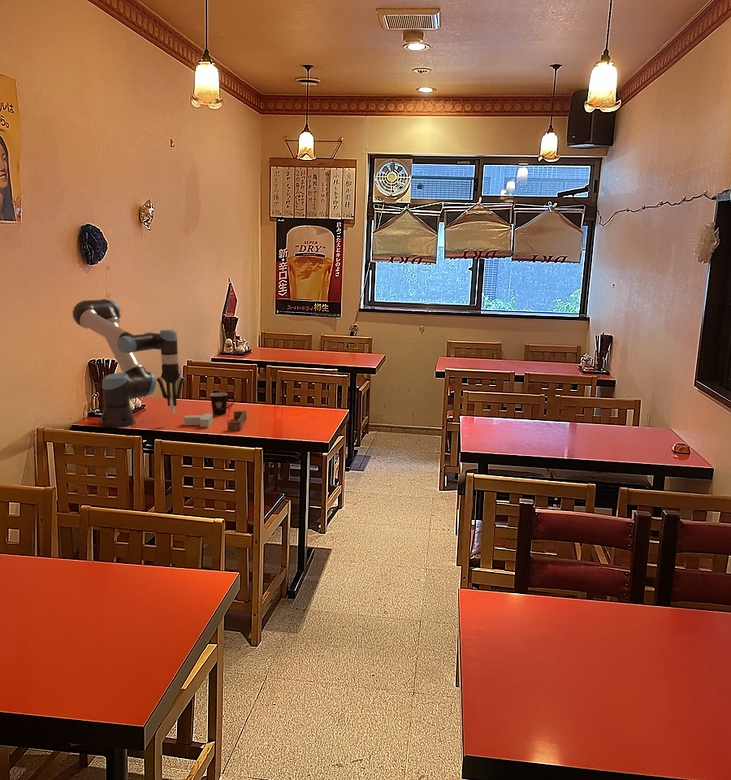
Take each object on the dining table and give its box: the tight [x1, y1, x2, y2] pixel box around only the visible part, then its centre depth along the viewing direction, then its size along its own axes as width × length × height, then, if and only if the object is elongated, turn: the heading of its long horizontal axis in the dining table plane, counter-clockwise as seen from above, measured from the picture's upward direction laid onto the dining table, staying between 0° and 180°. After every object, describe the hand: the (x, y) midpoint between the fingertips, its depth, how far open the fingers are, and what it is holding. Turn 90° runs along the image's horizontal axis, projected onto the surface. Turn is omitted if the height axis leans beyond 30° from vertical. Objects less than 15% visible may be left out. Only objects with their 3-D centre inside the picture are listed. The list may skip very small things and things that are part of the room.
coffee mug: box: [209, 392, 236, 416], centre depth 352 cm, size 12×9×10 cm
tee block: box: [183, 413, 214, 428], centre depth 330 cm, size 12×12×4 cm
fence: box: [226, 410, 248, 431], centre depth 331 cm, size 6×22×4 cm, turn 3°
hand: (172, 412), depth 329 cm, fingers closed
